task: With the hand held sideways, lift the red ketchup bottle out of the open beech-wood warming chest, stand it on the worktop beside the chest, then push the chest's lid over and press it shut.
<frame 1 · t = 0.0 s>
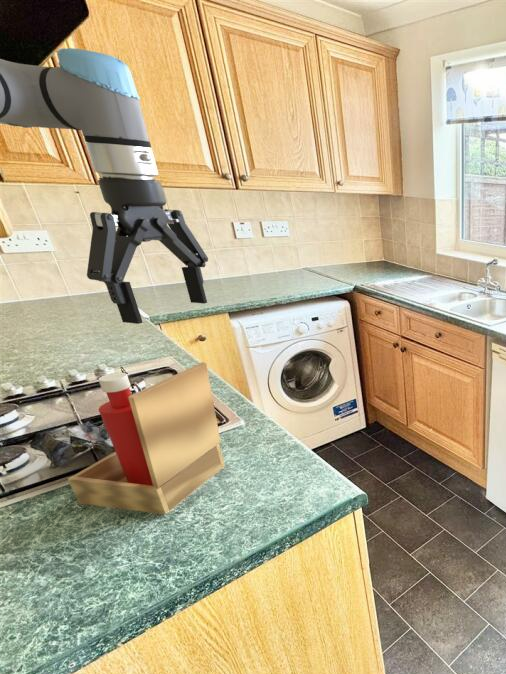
hand: (168, 311, 73), 30 cm above the counter, tool pointing down, fingers open, 13 cm apart
chest: (159, 486, 76), on the counter
chest lid: (180, 422, 69), point 14 cm above the counter, hinge at 95.0°
foil: (105, 458, 83), on the counter
ketchup bottle: (152, 482, 76), point 1 cm above the counter, touching chest
chef's knife: (151, 444, 88), on the counter, touching chest
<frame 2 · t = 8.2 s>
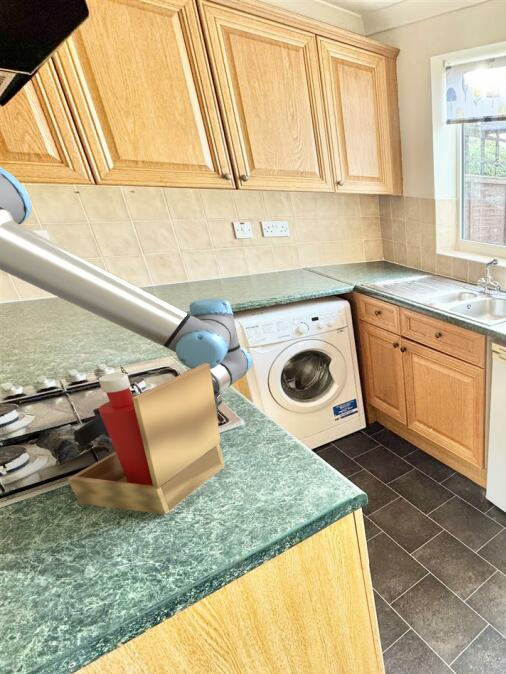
hand: (123, 439, 69), 11 cm above the counter, tool horizontal, fingers open, 13 cm apart
chest lid: (182, 423, 69), point 14 cm above the counter, hinge at 97.2°, touching gripper, hand
foil: (110, 456, 83), on the counter, touching chef's knife
chef's knife: (159, 441, 89), on the counter, touching foil
everything else where it was.
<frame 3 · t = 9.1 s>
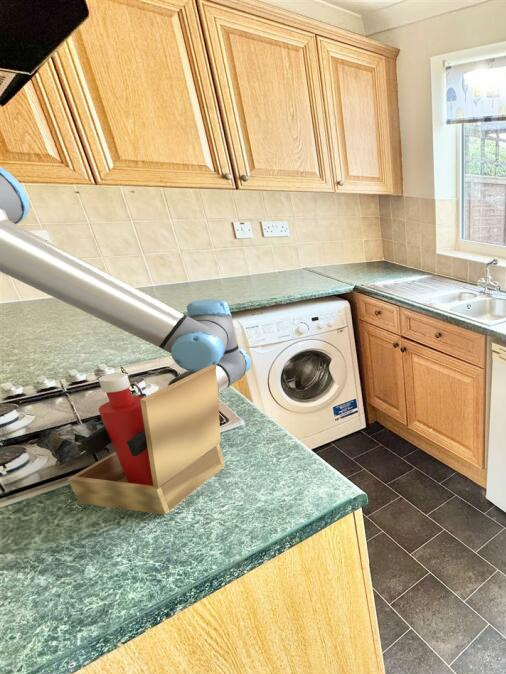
hand: (109, 448, 67), 11 cm above the counter, tool horizontal, fingers closed on ketchup bottle, 6 cm apart
chest lid: (186, 423, 69), point 14 cm above the counter, hinge at 101.3°
ketchup bottle: (152, 482, 76), point 1 cm above the counter, touching chest, gripper
everything else where it was.
when the fingers open (11 cm above the counter, at t = 17.6 s): ketchup bottle stays where it is, on the counter.
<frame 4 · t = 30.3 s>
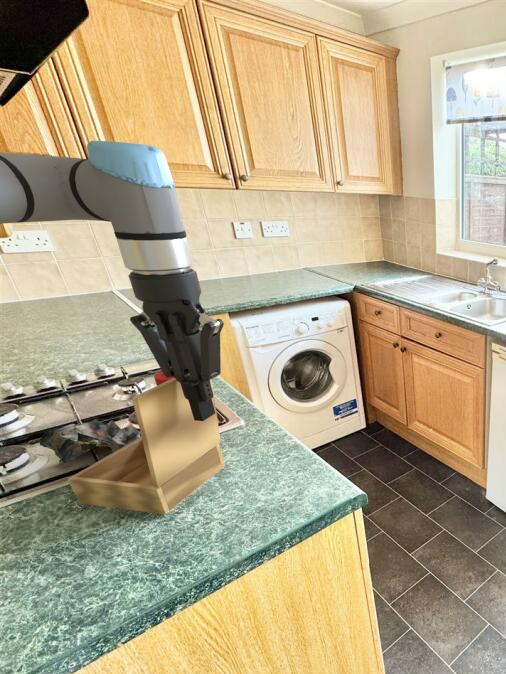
hand: (205, 416, 68), 16 cm above the counter, tool pointing down, fingers closed
chest lid: (182, 423, 69), point 14 cm above the counter, hinge at 97.0°
ketchup bottle: (194, 442, 89), on the counter
everything else where it was.
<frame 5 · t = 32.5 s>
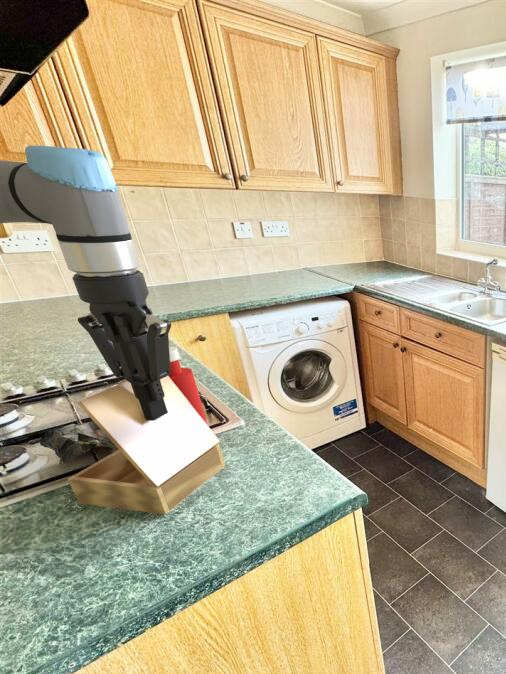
hand: (157, 416, 69), 15 cm above the counter, tool pointing down, fingers closed
chest lid: (157, 424, 70), point 14 cm above the counter, hinge at 63.0°, touching gripper
everything else where it was.
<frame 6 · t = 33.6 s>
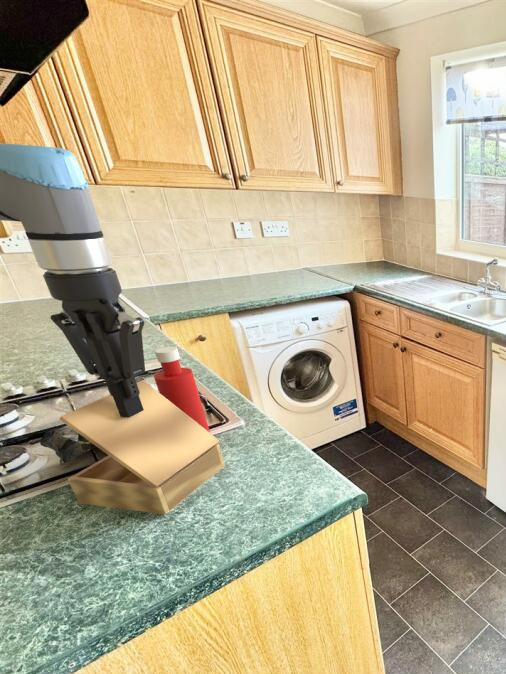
hand: (132, 413, 69), 15 cm above the counter, tool pointing down, fingers closed
chest lid: (148, 431, 71), point 12 cm above the counter, hinge at 44.1°, touching gripper
everything else where it was.
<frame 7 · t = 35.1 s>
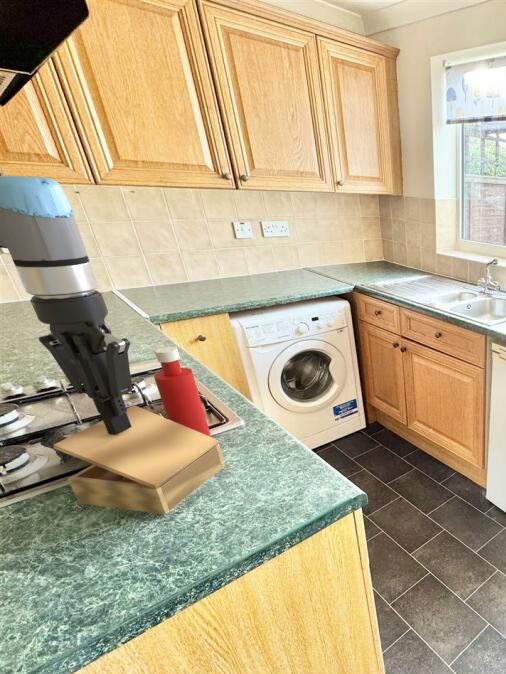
hand: (120, 430, 71), 12 cm above the counter, tool pointing down, fingers closed
chest lid: (143, 444, 72), point 9 cm above the counter, hinge at 20.8°, touching gripper
everything else where it was.
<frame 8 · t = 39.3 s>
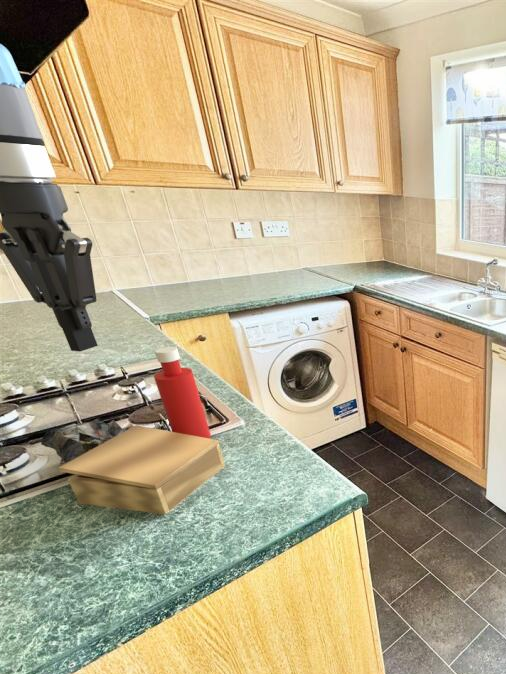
hand: (84, 348, 65), 26 cm above the counter, tool pointing down, fingers closed
chest lid: (145, 454, 73), point 7 cm above the counter, hinge at 4.7°
everything else where it was.
at the end: ketchup bottle inside the target area (1.0 cm from its centre), on the counter; ketchup bottle tilted 0°; chest lid at +5° (first picture: +95°) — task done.
